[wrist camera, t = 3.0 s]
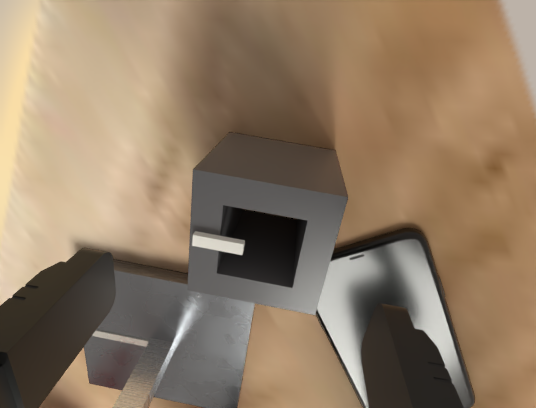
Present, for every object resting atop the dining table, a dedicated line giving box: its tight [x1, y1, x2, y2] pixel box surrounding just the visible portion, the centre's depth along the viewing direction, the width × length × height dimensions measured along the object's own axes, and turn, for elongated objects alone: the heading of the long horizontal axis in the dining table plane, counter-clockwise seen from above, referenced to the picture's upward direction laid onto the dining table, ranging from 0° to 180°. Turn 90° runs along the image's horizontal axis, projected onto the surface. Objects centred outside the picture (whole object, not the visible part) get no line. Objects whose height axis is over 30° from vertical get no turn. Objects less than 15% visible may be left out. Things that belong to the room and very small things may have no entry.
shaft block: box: [84, 259, 255, 408], centre depth 21 cm, size 12×12×6 cm
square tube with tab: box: [187, 132, 348, 315], centre depth 15 cm, size 6×6×6 cm
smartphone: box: [315, 228, 475, 408], centre depth 22 cm, size 8×1×16 cm
